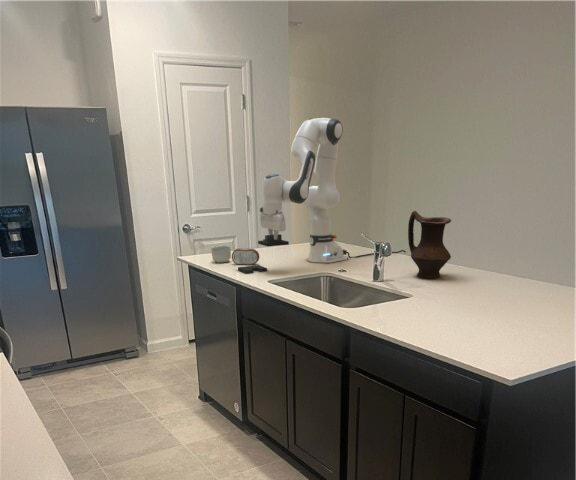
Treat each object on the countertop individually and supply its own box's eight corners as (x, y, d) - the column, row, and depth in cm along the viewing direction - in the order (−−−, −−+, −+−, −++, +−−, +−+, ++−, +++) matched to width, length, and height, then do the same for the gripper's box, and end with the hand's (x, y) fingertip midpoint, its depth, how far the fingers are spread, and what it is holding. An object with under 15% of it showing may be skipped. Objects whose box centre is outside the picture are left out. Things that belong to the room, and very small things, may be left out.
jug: (453, 274, 266) (460, 210, 254) (442, 282, 252) (449, 214, 240) (411, 270, 276) (416, 208, 264) (399, 277, 262) (403, 212, 250)
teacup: (233, 262, 304) (232, 248, 301) (214, 264, 300) (213, 249, 297) (226, 258, 316) (225, 244, 313) (208, 260, 312) (207, 245, 309)
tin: (259, 263, 299) (259, 248, 296) (258, 265, 296) (258, 249, 293) (232, 263, 301) (231, 248, 297) (231, 265, 298) (230, 249, 295)
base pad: (258, 267, 290) (258, 264, 289) (267, 271, 282) (267, 268, 281) (237, 270, 285) (237, 267, 284) (246, 273, 277) (245, 270, 276)
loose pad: (276, 241, 281) (276, 232, 280) (288, 244, 271) (288, 235, 269) (255, 243, 276) (255, 233, 274) (267, 246, 265) (267, 236, 264)
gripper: (289, 211, 259) (289, 241, 264) (269, 207, 275) (269, 236, 281) (277, 211, 256) (277, 242, 261) (257, 208, 272) (258, 236, 278)
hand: (273, 238), depth 271 cm, fingers closed on loose pad, 2 cm apart
